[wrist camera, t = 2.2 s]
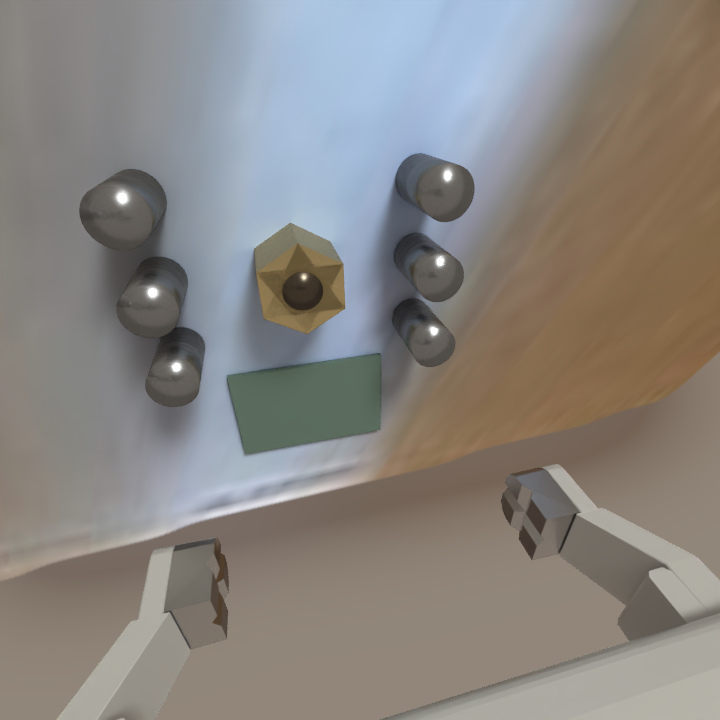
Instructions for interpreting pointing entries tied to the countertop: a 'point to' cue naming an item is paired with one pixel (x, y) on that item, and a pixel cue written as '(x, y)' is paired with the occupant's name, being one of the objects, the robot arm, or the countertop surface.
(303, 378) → the rubber mat
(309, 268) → the brass nut
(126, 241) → the spacer rows
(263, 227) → the countertop surface
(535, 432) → the countertop surface
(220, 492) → the countertop surface
